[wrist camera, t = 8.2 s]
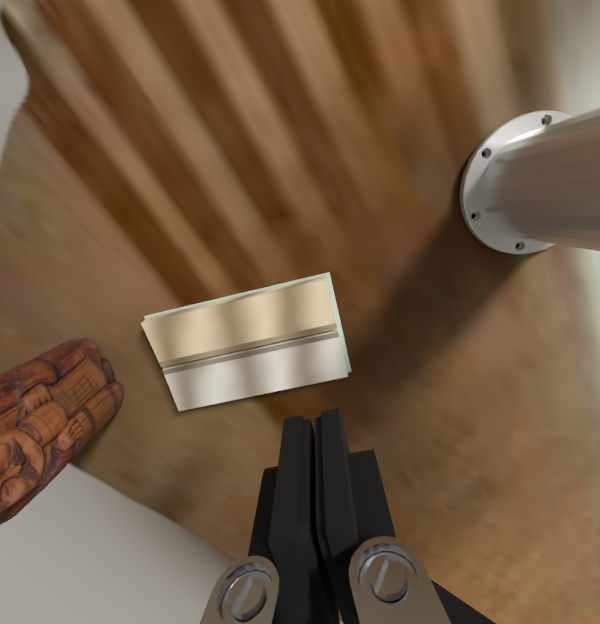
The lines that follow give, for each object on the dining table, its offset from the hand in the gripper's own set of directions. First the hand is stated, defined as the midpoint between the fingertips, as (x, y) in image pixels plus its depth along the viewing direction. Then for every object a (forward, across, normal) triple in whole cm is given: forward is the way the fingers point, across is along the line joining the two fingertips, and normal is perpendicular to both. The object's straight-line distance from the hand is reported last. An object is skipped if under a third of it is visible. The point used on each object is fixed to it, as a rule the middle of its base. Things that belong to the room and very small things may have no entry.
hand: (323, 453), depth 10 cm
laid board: (+27, +9, +9) cm, 29 cm away
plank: (+26, +9, +3) cm, 28 cm away
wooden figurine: (+27, +28, +6) cm, 40 cm away
